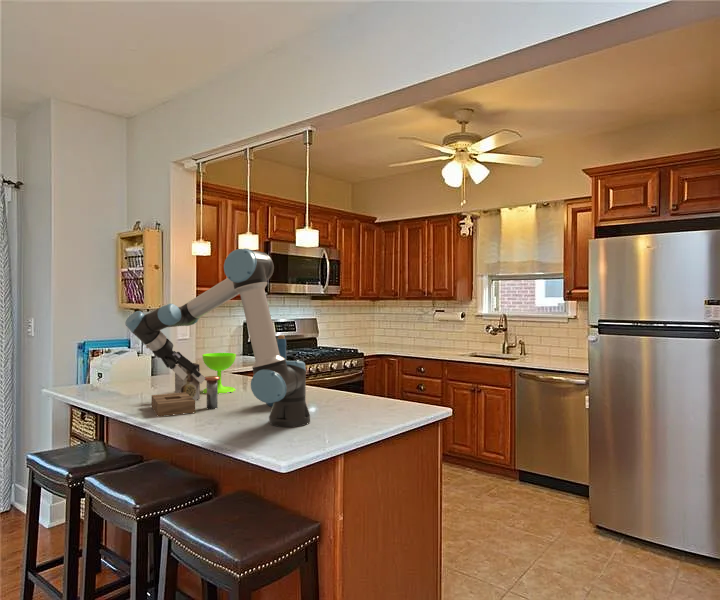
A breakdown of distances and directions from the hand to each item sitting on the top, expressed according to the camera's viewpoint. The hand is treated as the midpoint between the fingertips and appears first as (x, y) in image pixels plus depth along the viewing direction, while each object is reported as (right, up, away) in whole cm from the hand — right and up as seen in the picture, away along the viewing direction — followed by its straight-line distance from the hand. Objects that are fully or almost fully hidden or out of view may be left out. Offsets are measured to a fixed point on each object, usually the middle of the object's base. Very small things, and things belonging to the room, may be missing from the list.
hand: (193, 379), depth 216 cm
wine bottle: (+34, -13, +13) cm, 38 cm away
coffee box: (-10, -13, +22) cm, 27 cm away
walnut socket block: (-9, -13, +2) cm, 16 cm away
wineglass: (-2, -13, +45) cm, 46 cm away
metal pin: (+6, -13, +5) cm, 15 cm away
